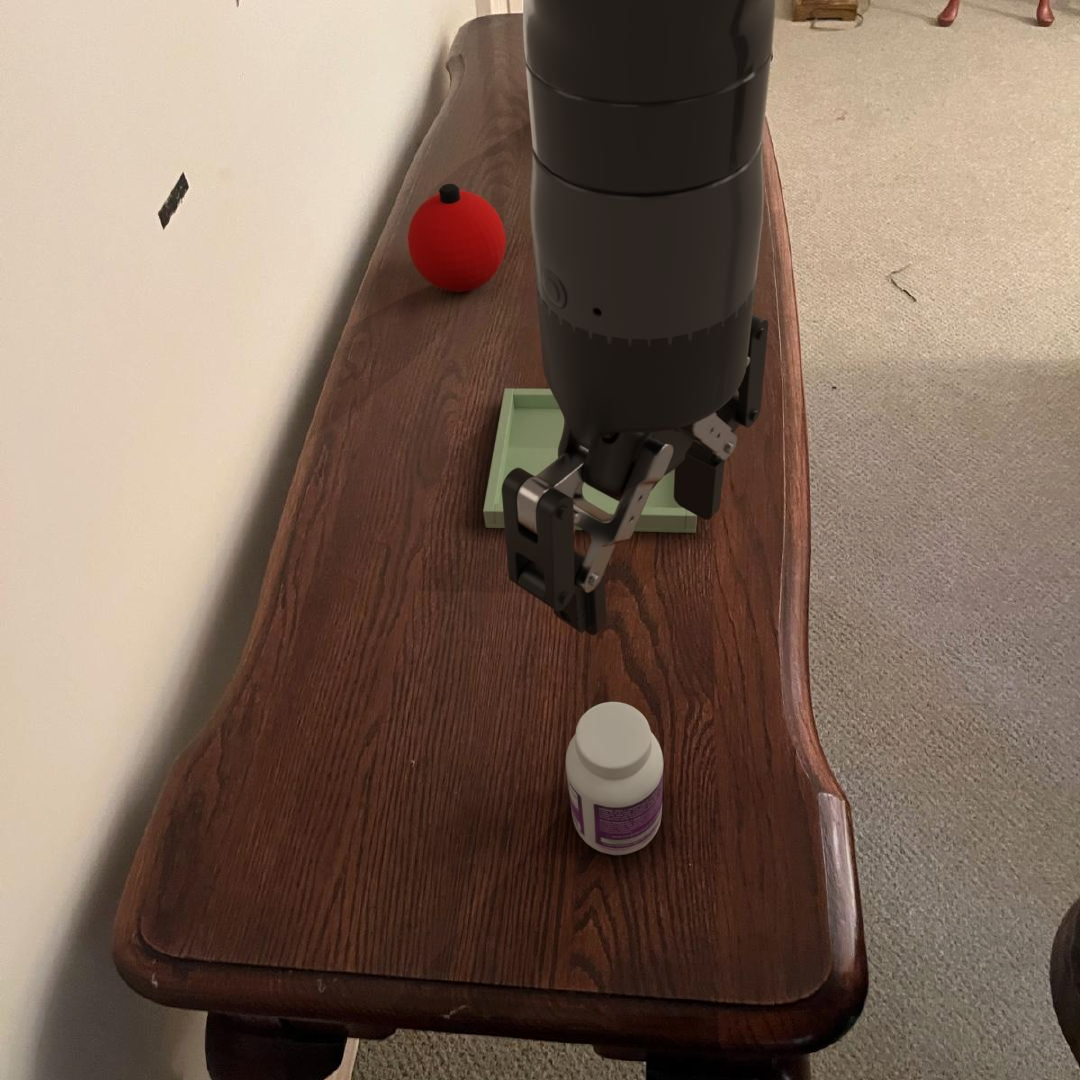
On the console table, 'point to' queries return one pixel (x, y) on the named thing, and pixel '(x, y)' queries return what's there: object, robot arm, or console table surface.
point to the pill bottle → (615, 779)
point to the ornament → (456, 240)
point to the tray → (533, 446)
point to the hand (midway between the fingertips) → (642, 562)
